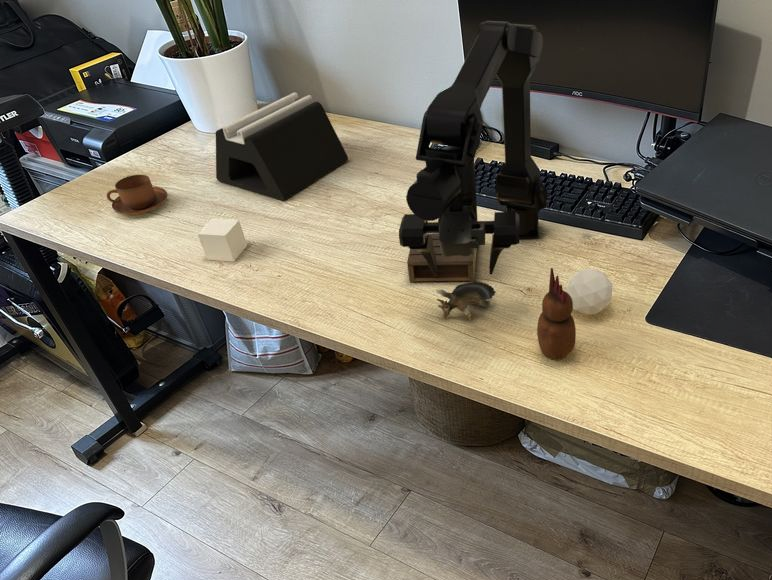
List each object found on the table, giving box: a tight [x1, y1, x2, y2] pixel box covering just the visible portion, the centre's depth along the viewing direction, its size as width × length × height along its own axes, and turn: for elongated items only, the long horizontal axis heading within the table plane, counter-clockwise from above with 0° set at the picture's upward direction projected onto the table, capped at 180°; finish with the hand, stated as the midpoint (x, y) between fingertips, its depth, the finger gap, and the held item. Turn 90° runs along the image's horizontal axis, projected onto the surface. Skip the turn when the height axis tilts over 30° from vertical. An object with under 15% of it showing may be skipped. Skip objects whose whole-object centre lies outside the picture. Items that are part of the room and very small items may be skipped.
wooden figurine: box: [536, 267, 577, 361], centre depth 100 cm, size 7×6×15 cm
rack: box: [406, 235, 478, 284], centre depth 124 cm, size 12×13×4 cm
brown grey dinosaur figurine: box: [435, 281, 497, 320], centre depth 112 cm, size 8×7×9 cm
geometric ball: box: [565, 268, 613, 315], centre depth 110 cm, size 8×8×8 cm
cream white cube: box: [197, 217, 248, 262], centre depth 131 cm, size 6×6×6 cm
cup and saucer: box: [106, 174, 168, 216], centre depth 148 cm, size 12×12×6 cm
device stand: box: [215, 92, 349, 202], centre depth 155 cm, size 22×22×15 cm
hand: (463, 273), depth 108 cm, fingers open, 9 cm apart
